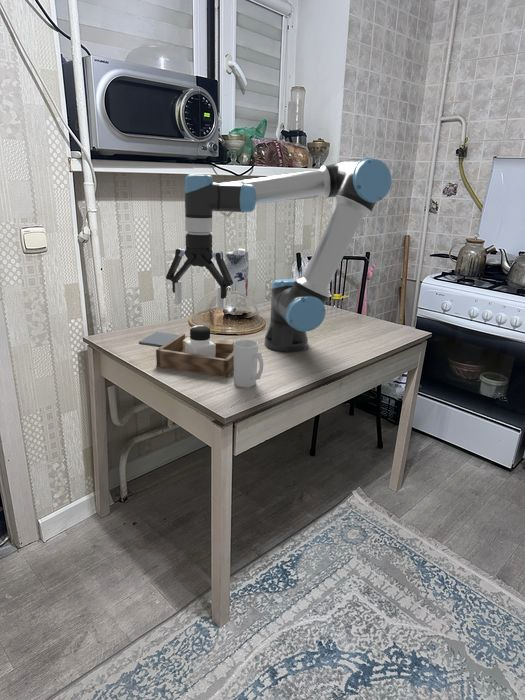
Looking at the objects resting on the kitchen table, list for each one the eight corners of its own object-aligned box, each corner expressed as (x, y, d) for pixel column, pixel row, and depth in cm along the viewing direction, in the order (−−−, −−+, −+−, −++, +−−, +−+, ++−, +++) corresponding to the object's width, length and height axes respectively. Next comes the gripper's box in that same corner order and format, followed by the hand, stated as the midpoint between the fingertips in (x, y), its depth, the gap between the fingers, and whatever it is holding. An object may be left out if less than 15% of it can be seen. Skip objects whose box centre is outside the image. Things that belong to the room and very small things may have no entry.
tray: (246, 357, 153) (247, 342, 152) (227, 377, 138) (227, 360, 136) (182, 348, 160) (181, 333, 158) (156, 365, 144) (156, 349, 143)
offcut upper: (233, 349, 152) (233, 341, 151) (232, 353, 149) (232, 344, 148) (215, 348, 153) (215, 339, 152) (213, 351, 150) (213, 343, 149)
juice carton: (222, 315, 198) (223, 250, 188) (228, 309, 207) (228, 246, 198) (243, 317, 197) (245, 251, 187) (248, 310, 206) (249, 247, 197)
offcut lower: (237, 359, 153) (237, 351, 151) (233, 363, 149) (233, 354, 148) (214, 356, 155) (214, 347, 154) (210, 360, 151) (210, 351, 150)
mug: (228, 382, 135) (228, 342, 131) (245, 376, 139) (246, 337, 135) (253, 394, 128) (254, 352, 124) (270, 387, 133) (272, 347, 129)
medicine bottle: (216, 365, 146) (216, 328, 142) (195, 370, 142) (194, 332, 138) (205, 358, 152) (205, 322, 148) (184, 362, 148) (184, 325, 144)
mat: (191, 338, 170) (191, 336, 169) (175, 348, 159) (175, 347, 159) (156, 333, 173) (156, 331, 173) (138, 343, 162) (138, 341, 162)
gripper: (245, 235, 133) (243, 308, 141) (165, 228, 140) (167, 298, 148) (235, 237, 127) (234, 314, 134) (152, 230, 133) (155, 304, 141)
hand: (199, 306), depth 141 cm, fingers open, 13 cm apart
